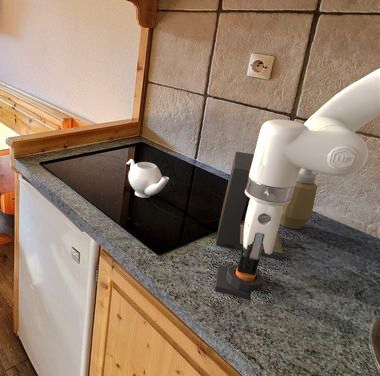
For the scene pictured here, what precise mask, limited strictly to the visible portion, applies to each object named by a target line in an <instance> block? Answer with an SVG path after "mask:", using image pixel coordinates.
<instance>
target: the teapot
mask: <svg viewBox="0 0 380 376" xmlns="http://www.w3.org/2000/svg"><path fill="white" fill-rule="evenodd" d="M125 164H126V165H130V169H129V171H128V176H127V178H128V179H127V180H128V182H129V184H130V186H131V188H132V190H134V195H135V196H137V197H139V198H144V199H146V198H150V197H151V196H155V195H158V194H159V193H160V192H162V190H164V188H165V187H166V185H167V184H168V183H169V180H170V178H169V177H168V176H163V174H162V173H161V170H160V168H159V167H158V166H157V165H156V164H154V163H152V162H147V161H140V162H137V163H135V160H134V159H133V158H130V159H129V160H128V161H127V162H126V163H125Z"/></svg>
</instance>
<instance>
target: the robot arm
mask: <svg viewBox="0 0 380 376" xmlns="http://www.w3.org/2000/svg"><path fill="white" fill-rule="evenodd" d="M377 117H380V67H379V68H378V69H376V70H373V71H372V72H370V73H369V74H367V75H365V76H364V77H362V78H360V79H359V80H357V81H355V82H353V83H351V84H350V85H349V86H347V87H345V88H343V89H342V90H341V91H339V92H338V93H337V94H335V95H334V96H333V97H332V98H331V99H329V100H328V101H326V103H325V104H324V105H322V106H321V107H320V108H319V109H318V110H316V112H314V113H313V114H312V115H311V116H309V118H308V119H307V120H305V122H304V124H303V123H301V122H300V121H299V122H298V121H295V120H291V119H281V118H280V119H270V120H269V119H268V120H267V121H266V122H264V123H263V124H262V125H261V127H260V130H259V134H258V138H257V142H256V145H255V146H256V147H255V150H254V153H253V154H254V158H253V162H252V165H251V169H250V173H249V177H248V181H247V185H246V189H245V194H246V195H247V196H248V197H247V198H249V201H248V206H247V210H246V213H245V218H244V223H243V224H244V238H243V246H244V248H243V251H240V252H241V253H240V257H239V260H238V264H237V265H238V272H241V273H245V274H249V275H255V273H256V271H258V270H257V269H258V266H259V263H260V258H261V256H260V255H261V252H262V248H263V246H264V251H265V253H267V254H269V255H270V254H272V252H273V248H274V244H275V240H276V236H277V232H278V231H279V229H278V228H280V225H281V224H280V220H281V215H282V210H283V205H286V204H288V203H290V201H291V197H292V194H293V191H294V188H295V184H296V181H297V178H298V175H299V171H300V170H301V169H302V168H303V169H307V170H311V171H312V172H315V173H319V174H322V175H327V176H332V177H333V176H334V177H341V176H342V177H343V176H348V175H351V174H354V173H357V172H358V171H359V170H361V169H362V168H363V167H364V166H365V164H366V163H367V161H368V159H369V148H368V145H367V143H366V142H365V140H364V139H363V138H362V137H361V136H360V135H359V134H357V133H356V132H357V131H359V130H360V129H361V128H363V126H365V125H367V123H369V122H371V121H372V120H374V119H376V118H377ZM279 224H280V225H279Z"/></svg>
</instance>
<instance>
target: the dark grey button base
mask: <svg viewBox="0 0 380 376" xmlns="http://www.w3.org/2000/svg"><path fill="white" fill-rule="evenodd" d="M237 268H238V264H233V265H231V266H229V267H228V266H224V265H222V264H221V265H220V264H218V265H217V269H216V277H215V283H214V284H215V285H214V291H215V292H218V293H222V294H225V295H230V296H233V297H237V298H241V299H244V300H248V301H252V291H258V290H260V289H262V287H263V284H264V279H268V280H271V277H269V276H266V275H262V274H261V273H260V272H259V271H258V270H256V276H255V280H254V281H245V280H242V279H240V278H238V277H237V276H236V275H235V273H236V269H237Z"/></svg>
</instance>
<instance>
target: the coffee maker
mask: <svg viewBox="0 0 380 376" xmlns="http://www.w3.org/2000/svg"><path fill="white" fill-rule="evenodd" d="M254 154H255V153H249V152H242V151H235V152H234V157H233V161H232V165H231V169H230V174H229V177H228V182H227V186H226V191H225V195H224V200H223V204H222V209H221V212H220V217H219V221H218V227H217V234H216V241H215V246H217V247H222V248H226V249H230V250H235V251H239V252H242V251H243V248H244V246H243V238H244V224H245V223H242V220H243V216H244V212H245V208H246V204H247V202H248V201H247V200H248V198H249V197H248V196H247V195H246V194H245V189H246V185H247V181H248V177H249V173H250V169H251V165H252V162H253V158H254ZM281 236H282V235H281V232H280V230H278V232H277V236H276V240H275V244H274V248H273V252H272V254H270V255H269V254H267V253H265V251H264V246H263V248H262V252H261V255H260V257H265V258H270V259H273V260H276V261H277V260H278V261H282V260H283V257H284V255H283V254H284V250H283V245H282V237H281Z"/></svg>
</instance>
